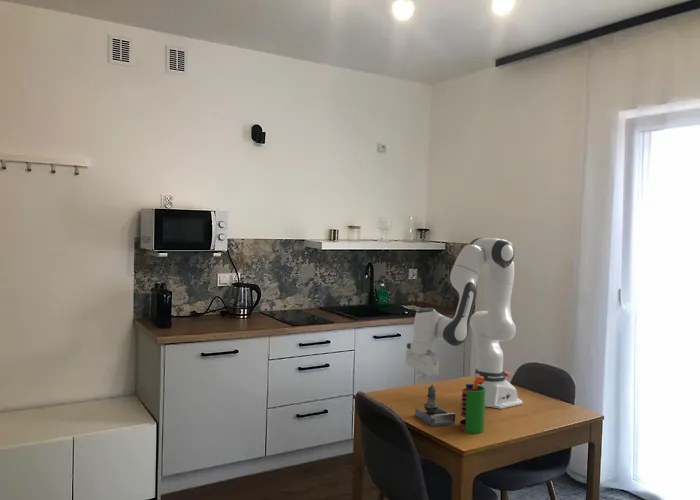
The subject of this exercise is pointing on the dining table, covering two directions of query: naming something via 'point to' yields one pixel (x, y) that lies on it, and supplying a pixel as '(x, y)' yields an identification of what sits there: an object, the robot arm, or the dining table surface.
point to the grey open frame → (436, 417)
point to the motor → (473, 407)
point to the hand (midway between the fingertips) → (420, 381)
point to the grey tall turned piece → (431, 402)
